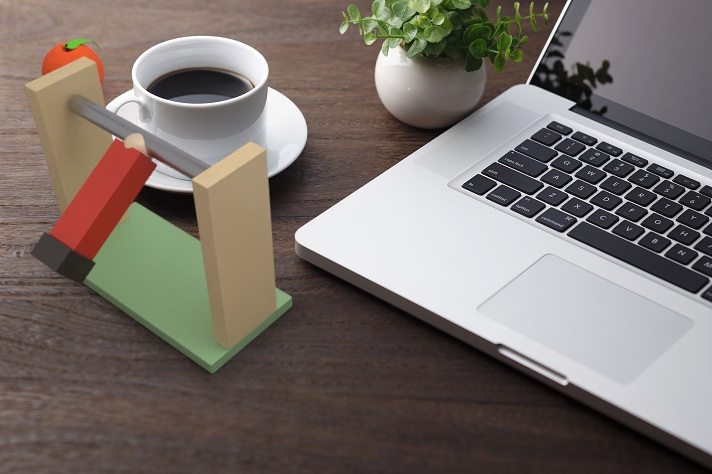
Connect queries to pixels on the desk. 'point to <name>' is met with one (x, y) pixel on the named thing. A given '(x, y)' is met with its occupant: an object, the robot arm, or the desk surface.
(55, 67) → the clementine
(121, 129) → the pendulum
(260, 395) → the desk surface
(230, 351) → the frame
